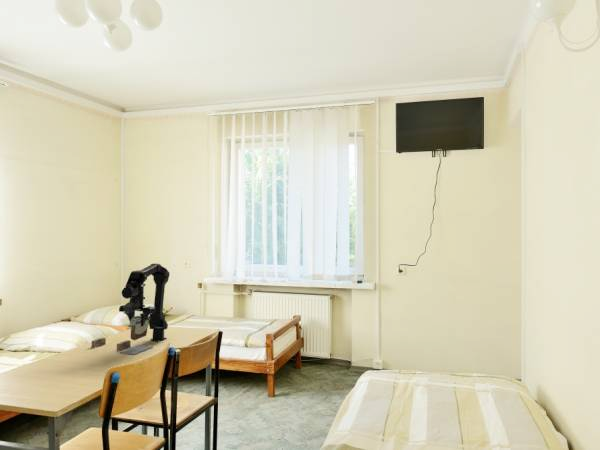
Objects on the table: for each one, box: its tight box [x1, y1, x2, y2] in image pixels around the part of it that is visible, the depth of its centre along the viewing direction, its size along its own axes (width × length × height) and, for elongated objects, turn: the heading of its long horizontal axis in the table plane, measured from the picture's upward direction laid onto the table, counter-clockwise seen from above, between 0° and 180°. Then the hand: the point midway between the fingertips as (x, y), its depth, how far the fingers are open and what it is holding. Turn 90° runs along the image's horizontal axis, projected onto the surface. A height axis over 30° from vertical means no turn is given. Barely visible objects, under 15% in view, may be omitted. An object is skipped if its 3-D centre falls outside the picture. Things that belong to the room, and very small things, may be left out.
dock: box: [91, 337, 132, 352], centre depth 239 cm, size 8×18×4 cm, turn 72°
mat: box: [119, 344, 154, 356], centre depth 234 cm, size 15×9×1 cm, turn 162°
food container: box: [129, 315, 150, 341], centre depth 235 cm, size 12×6×10 cm, turn 162°
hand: (137, 325), depth 235 cm, fingers closed on food container, 6 cm apart
